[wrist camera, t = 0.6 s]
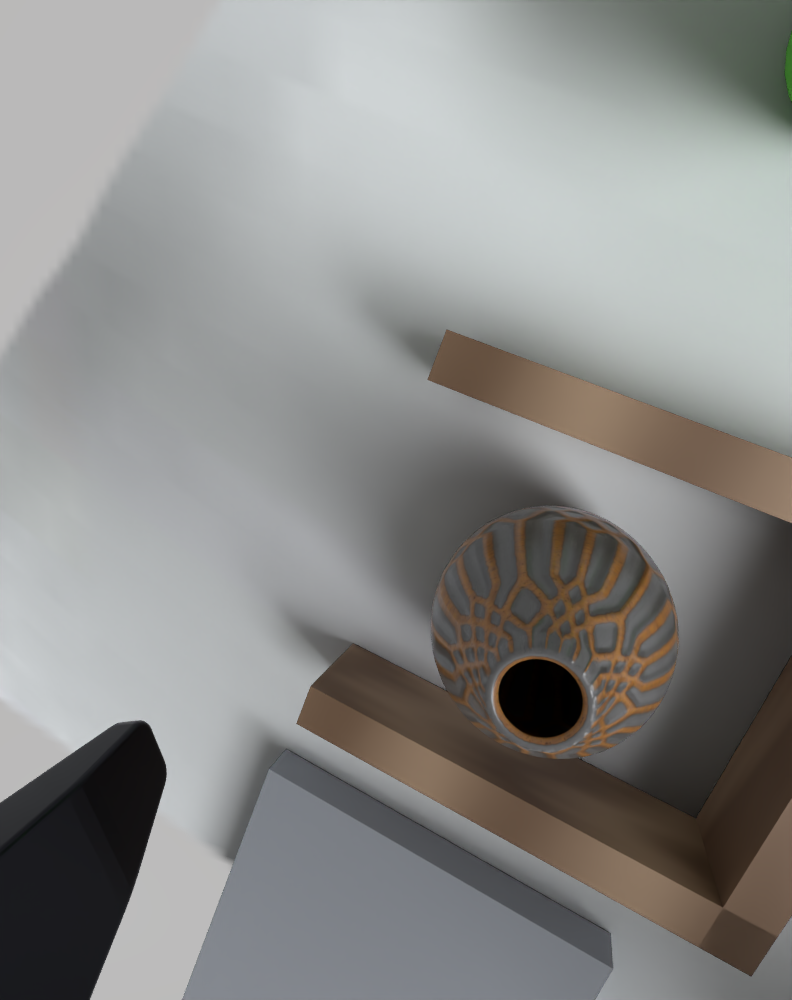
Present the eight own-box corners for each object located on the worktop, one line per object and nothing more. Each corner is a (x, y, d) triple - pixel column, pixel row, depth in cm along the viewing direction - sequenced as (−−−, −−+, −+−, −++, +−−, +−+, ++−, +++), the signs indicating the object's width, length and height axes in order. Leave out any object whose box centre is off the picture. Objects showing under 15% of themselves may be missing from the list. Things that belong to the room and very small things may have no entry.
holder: (937, 520, 18) (1036, 548, 14) (718, 874, 21) (751, 976, 17) (469, 345, 21) (446, 329, 17) (340, 675, 24) (296, 723, 20)
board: (610, 933, 22) (613, 969, 21) (466, 1181, 25) (460, 1227, 24) (286, 749, 25) (268, 769, 24) (193, 991, 28) (173, 1022, 27)
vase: (608, 717, 21) (630, 909, 13) (430, 633, 23) (346, 757, 14) (694, 541, 20) (782, 629, 11) (497, 463, 21) (447, 492, 13)
